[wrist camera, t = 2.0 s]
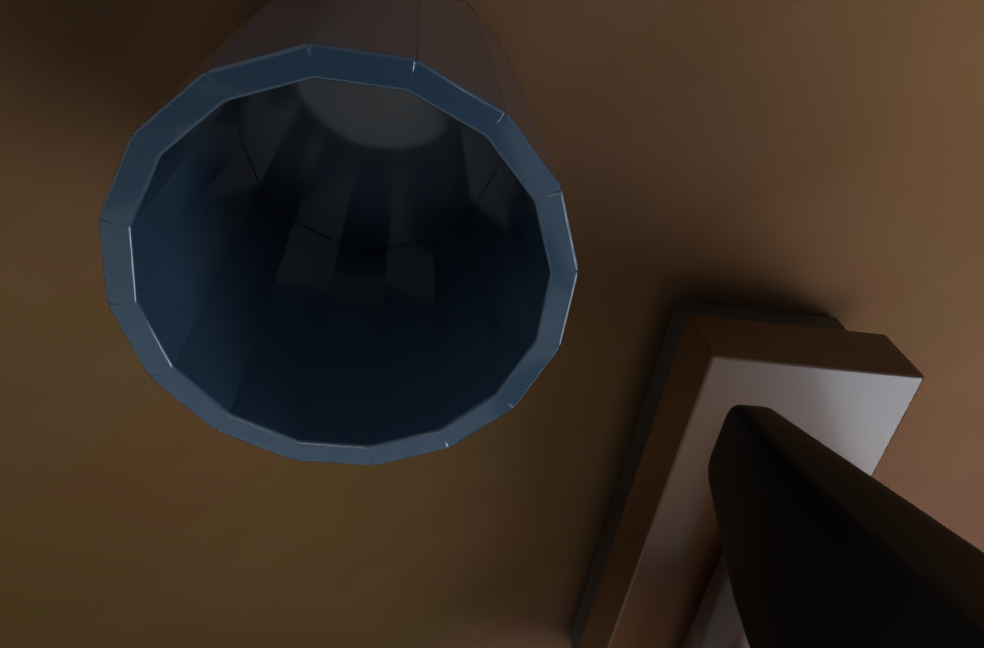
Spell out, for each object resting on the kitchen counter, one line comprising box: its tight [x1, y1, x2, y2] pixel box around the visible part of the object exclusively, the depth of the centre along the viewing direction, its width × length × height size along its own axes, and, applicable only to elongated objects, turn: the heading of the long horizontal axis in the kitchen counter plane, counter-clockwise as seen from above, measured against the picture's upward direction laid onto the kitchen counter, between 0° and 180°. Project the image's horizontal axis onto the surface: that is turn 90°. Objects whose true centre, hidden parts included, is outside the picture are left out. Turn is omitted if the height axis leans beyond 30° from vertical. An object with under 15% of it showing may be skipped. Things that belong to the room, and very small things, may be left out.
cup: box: [99, 0, 578, 465], centre depth 14 cm, size 6×6×8 cm
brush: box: [570, 301, 924, 648], centre depth 21 cm, size 14×5×5 cm, turn 171°
